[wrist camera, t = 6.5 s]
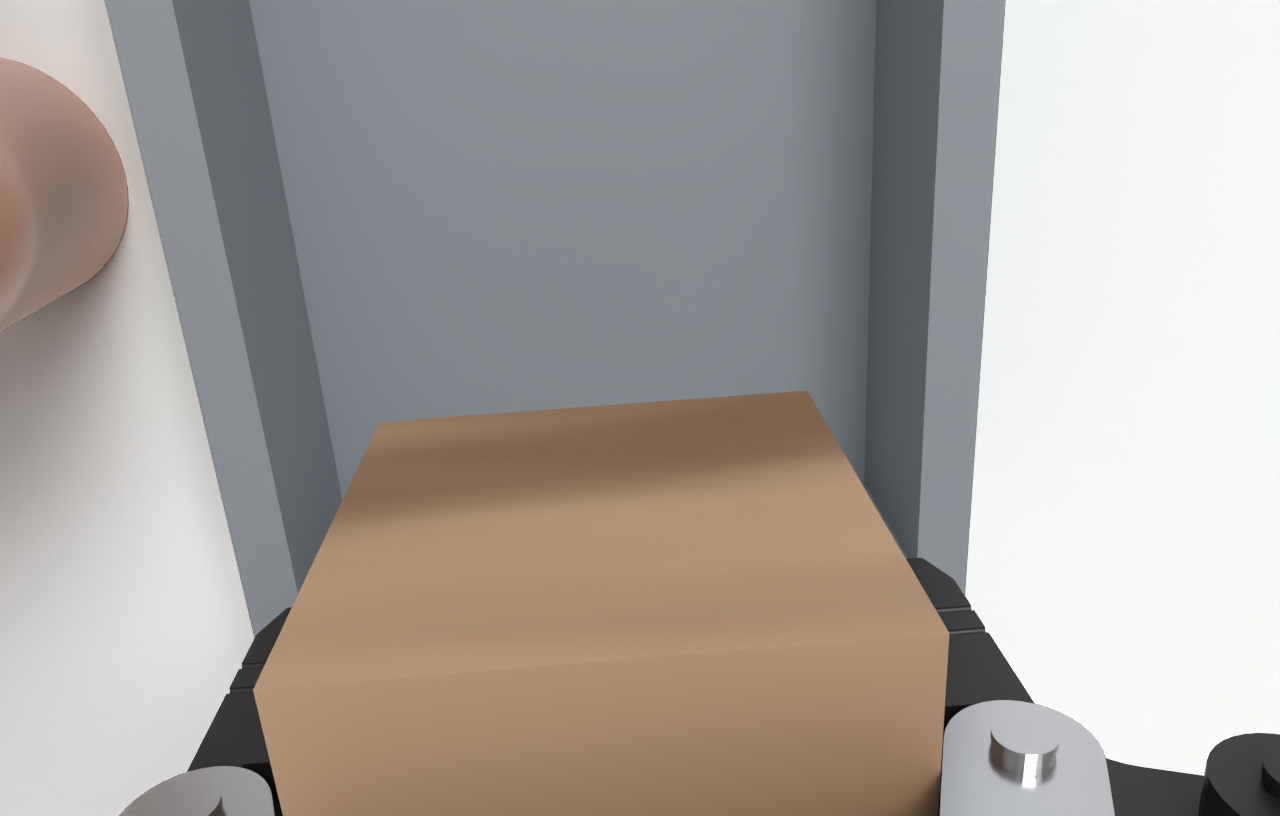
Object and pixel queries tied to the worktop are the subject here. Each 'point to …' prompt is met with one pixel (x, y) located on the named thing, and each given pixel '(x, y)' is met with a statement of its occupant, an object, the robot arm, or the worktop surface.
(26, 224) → the terracotta capsule
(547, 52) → the grey tote
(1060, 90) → the worktop surface
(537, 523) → the walnut cube
